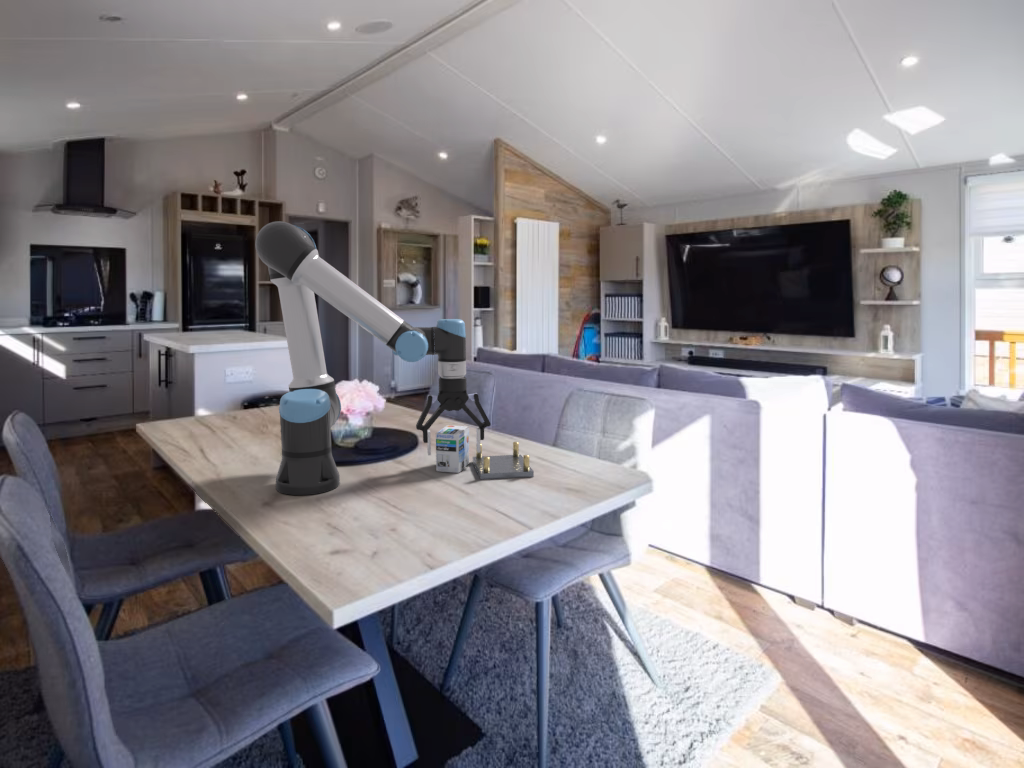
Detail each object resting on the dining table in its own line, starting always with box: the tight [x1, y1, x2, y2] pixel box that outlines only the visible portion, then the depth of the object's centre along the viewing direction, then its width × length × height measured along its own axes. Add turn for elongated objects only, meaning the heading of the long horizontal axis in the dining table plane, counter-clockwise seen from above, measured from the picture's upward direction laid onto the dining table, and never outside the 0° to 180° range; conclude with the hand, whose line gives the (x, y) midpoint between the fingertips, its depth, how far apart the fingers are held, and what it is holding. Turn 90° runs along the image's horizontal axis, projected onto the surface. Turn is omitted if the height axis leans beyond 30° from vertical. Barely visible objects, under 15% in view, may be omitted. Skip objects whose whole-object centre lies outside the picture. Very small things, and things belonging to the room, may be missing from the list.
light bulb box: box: [435, 424, 470, 474], centre depth 174 cm, size 11×7×11 cm, turn 168°
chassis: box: [472, 441, 534, 480], centre depth 173 cm, size 14×17×6 cm
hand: (454, 452), depth 174 cm, fingers open, 13 cm apart
